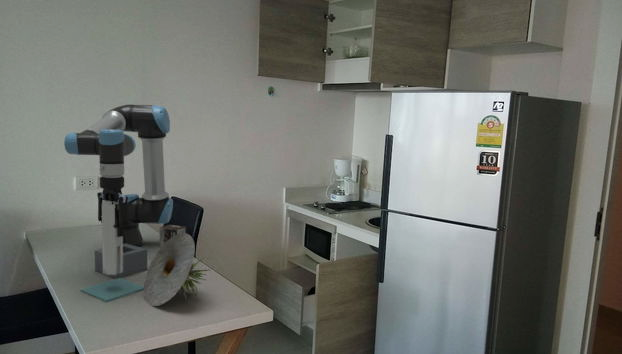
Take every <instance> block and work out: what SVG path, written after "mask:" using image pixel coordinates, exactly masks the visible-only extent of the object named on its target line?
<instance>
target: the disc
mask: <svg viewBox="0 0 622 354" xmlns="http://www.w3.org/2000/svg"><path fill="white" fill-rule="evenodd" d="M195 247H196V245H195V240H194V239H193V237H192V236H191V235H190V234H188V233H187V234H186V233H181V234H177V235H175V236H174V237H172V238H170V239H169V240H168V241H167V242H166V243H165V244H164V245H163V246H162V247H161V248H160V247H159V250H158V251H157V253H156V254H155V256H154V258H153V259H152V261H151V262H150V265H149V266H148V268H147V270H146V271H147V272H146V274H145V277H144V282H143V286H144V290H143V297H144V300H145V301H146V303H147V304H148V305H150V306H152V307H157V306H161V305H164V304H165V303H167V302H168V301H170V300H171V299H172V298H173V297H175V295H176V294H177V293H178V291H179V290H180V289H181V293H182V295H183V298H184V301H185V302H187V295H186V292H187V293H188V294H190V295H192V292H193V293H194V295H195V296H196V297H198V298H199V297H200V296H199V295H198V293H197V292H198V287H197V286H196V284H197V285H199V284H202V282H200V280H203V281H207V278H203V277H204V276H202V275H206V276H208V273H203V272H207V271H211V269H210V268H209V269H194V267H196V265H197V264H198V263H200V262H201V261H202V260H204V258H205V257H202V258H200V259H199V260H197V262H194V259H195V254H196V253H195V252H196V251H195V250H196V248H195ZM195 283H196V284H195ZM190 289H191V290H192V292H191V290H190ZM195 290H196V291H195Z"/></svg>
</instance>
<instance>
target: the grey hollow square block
mask: <svg viewBox="0 0 622 354" xmlns="http://www.w3.org/2000/svg"><path fill="white" fill-rule="evenodd" d="M94 271H95V272H97V273H100V274H103V252H102V248H99V249H96V250H95V249H94ZM144 271H148V249H146V248H142V247H141V246H140V247H136V246H133V245H130V244H123V272H122V273H120V274H116V275H107V276H108V277H110V278H114V279H118V278H123V277H127V276H130V275H133V274H137V273H140V272H144ZM103 275H104V274H103Z"/></svg>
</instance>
